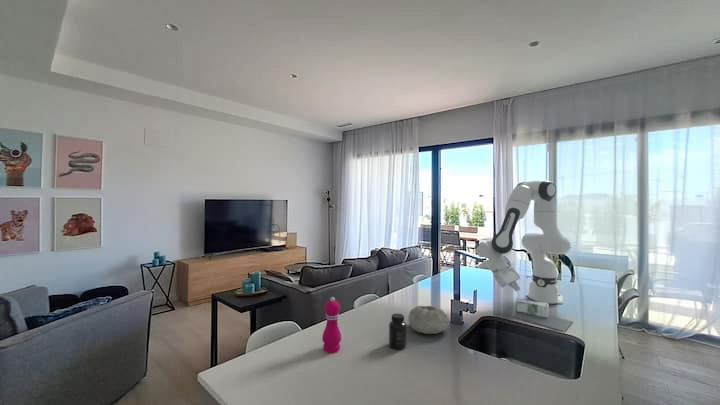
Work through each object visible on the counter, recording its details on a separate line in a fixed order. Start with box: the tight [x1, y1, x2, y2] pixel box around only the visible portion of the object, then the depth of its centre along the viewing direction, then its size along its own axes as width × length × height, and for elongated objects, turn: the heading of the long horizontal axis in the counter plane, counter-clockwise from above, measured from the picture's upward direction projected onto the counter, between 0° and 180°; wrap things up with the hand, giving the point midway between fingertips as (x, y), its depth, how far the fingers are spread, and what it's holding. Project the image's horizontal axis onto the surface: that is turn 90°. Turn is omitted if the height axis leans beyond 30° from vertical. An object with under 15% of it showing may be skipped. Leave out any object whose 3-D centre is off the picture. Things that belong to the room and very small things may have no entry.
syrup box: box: [515, 297, 550, 318], centre depth 151 cm, size 6×6×14 cm
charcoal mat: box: [511, 312, 574, 333], centre depth 144 cm, size 16×22×1 cm
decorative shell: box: [408, 305, 451, 335], centre depth 130 cm, size 18×18×10 cm
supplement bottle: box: [388, 312, 407, 351], centre depth 115 cm, size 7×7×12 cm
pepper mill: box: [321, 296, 342, 354], centre depth 112 cm, size 7×7×20 cm
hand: (518, 290), depth 152 cm, fingers closed
